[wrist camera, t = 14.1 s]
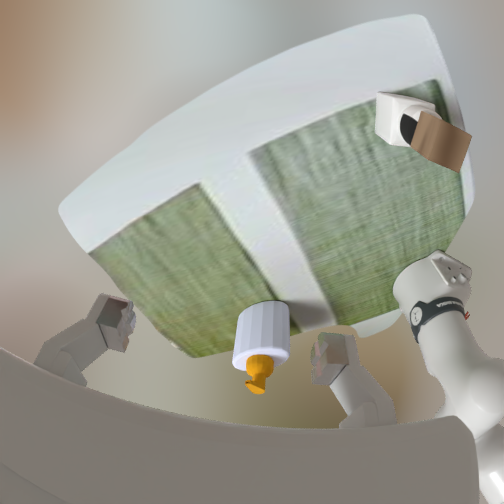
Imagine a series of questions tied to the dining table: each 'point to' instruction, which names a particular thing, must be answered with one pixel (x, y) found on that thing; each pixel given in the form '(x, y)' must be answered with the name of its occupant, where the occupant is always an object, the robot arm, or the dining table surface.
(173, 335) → the dining table surface
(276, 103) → the dining table surface
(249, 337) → the soap bottle
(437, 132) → the walnut cube
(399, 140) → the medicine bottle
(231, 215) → the dining table surface
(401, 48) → the dining table surface
